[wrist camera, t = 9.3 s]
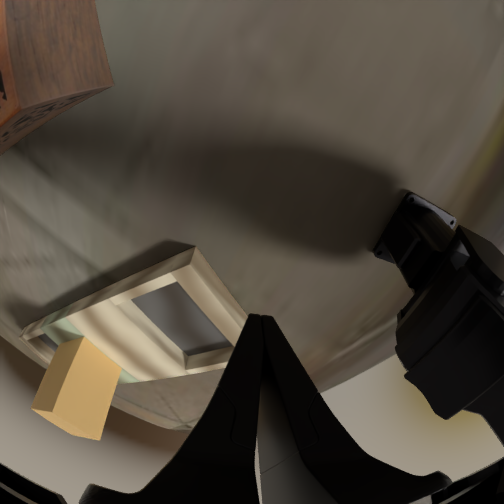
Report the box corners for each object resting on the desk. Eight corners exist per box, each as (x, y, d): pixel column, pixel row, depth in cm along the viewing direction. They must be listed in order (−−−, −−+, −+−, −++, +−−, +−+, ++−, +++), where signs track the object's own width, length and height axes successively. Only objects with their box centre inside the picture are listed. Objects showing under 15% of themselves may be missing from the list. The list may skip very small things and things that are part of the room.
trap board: (195, 246, 24) (189, 264, 22) (265, 340, 31) (265, 358, 29) (24, 326, 34) (18, 337, 32) (80, 375, 41) (76, 386, 39)
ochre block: (84, 336, 29) (52, 412, 20) (121, 368, 33) (99, 440, 24) (59, 343, 31) (30, 408, 22) (93, 372, 34) (72, 434, 26)
